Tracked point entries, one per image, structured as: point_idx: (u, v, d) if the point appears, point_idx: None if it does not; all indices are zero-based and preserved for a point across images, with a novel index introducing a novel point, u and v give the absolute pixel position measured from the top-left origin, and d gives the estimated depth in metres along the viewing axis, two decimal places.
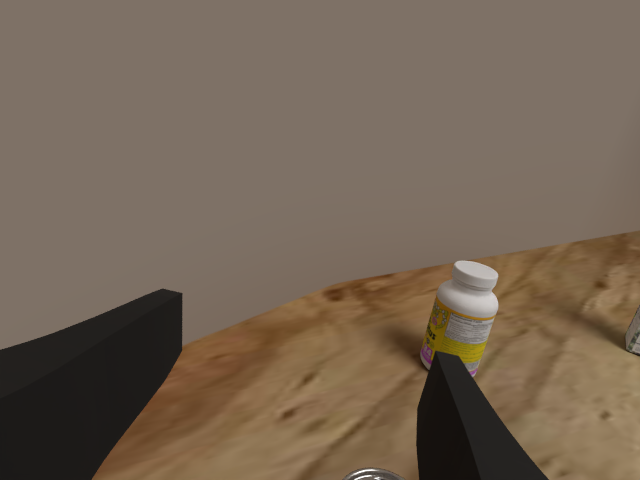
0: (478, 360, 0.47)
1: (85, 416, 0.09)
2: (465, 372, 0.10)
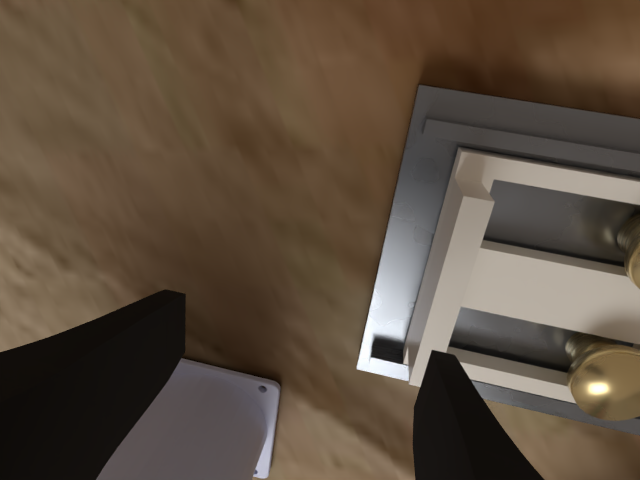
0: None
1: (89, 417, 0.09)
2: (462, 371, 0.10)
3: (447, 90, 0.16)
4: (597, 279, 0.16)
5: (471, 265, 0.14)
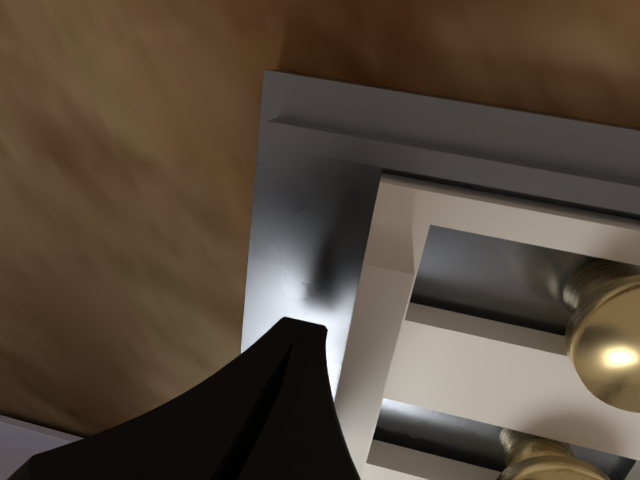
0: None
1: None
2: (318, 338, 0.10)
3: (304, 78, 0.11)
4: None
5: (385, 369, 0.09)
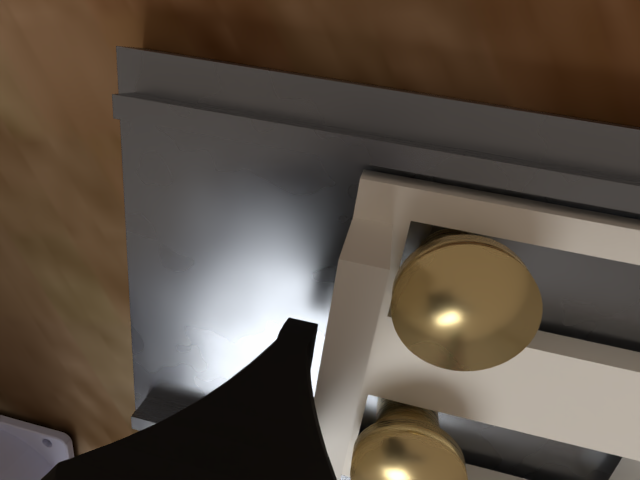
0: None
1: None
2: (302, 335, 0.10)
3: (153, 53, 0.11)
4: (572, 369, 0.11)
5: (363, 364, 0.09)
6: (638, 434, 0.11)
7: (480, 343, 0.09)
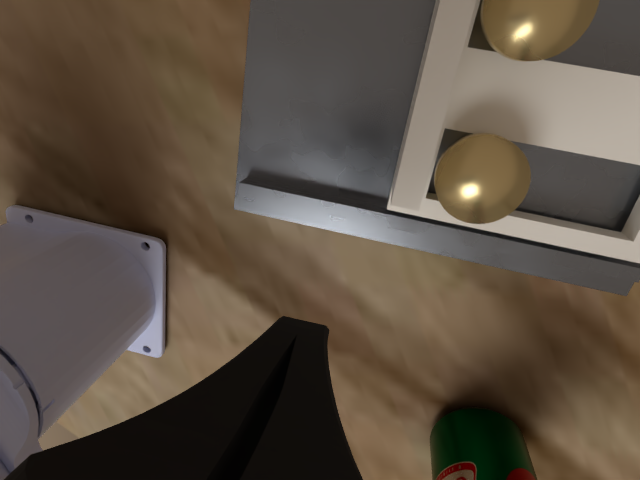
0: None
1: (248, 460, 0.08)
2: (320, 339, 0.10)
3: None
4: (610, 83, 0.14)
5: (465, 31, 0.12)
6: None
7: (551, 31, 0.13)
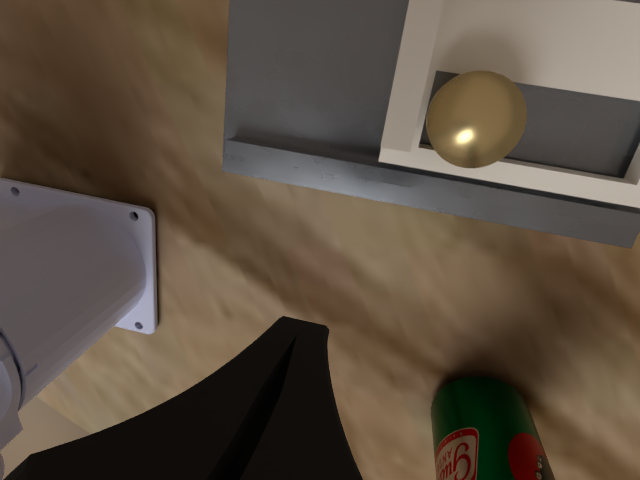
0: None
1: (248, 460, 0.08)
2: (320, 339, 0.10)
3: None
4: (608, 12, 0.13)
5: None
6: None
7: None
